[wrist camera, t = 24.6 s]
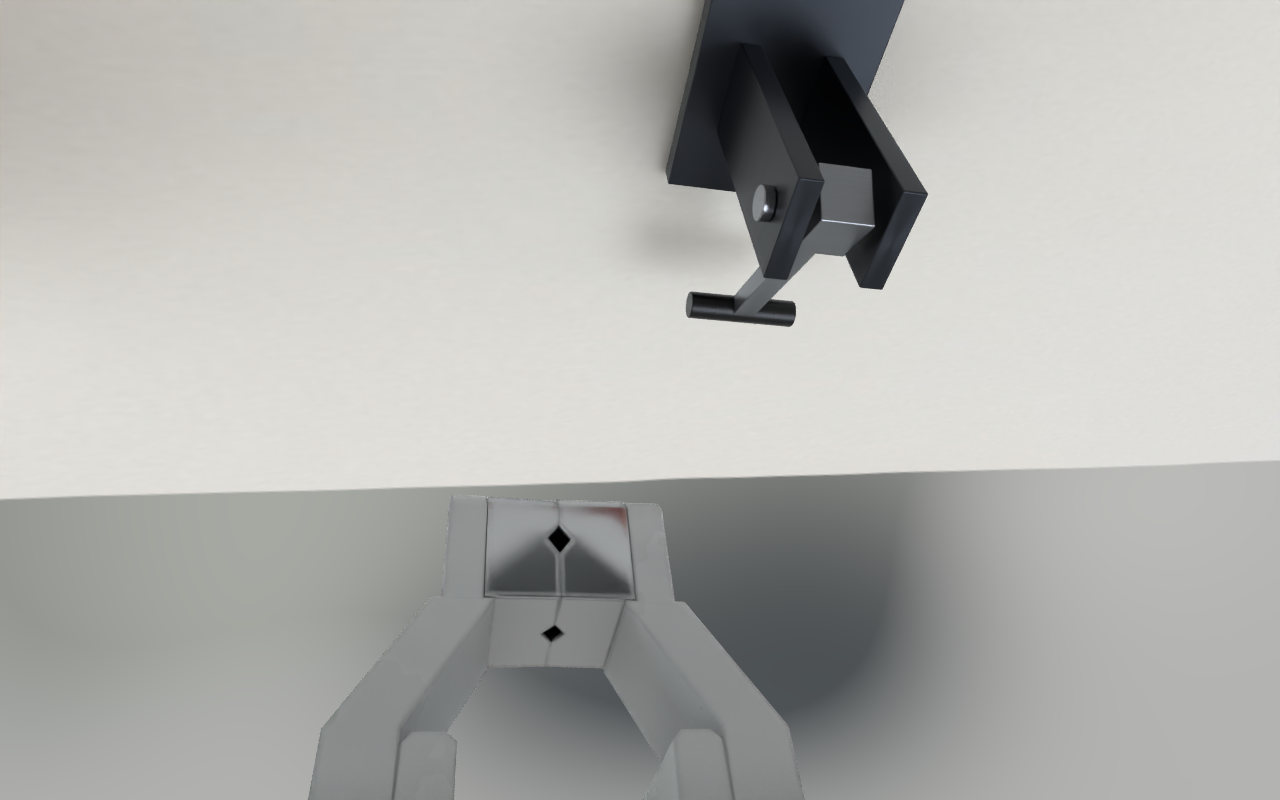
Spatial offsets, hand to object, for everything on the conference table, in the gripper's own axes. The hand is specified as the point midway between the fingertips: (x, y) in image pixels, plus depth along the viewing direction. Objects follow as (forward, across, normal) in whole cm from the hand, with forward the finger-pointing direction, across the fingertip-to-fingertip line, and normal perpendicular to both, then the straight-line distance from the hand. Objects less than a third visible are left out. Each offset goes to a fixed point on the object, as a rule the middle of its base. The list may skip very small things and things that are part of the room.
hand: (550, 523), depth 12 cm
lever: (+24, -12, +10) cm, 28 cm away
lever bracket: (+31, -12, +6) cm, 34 cm away
